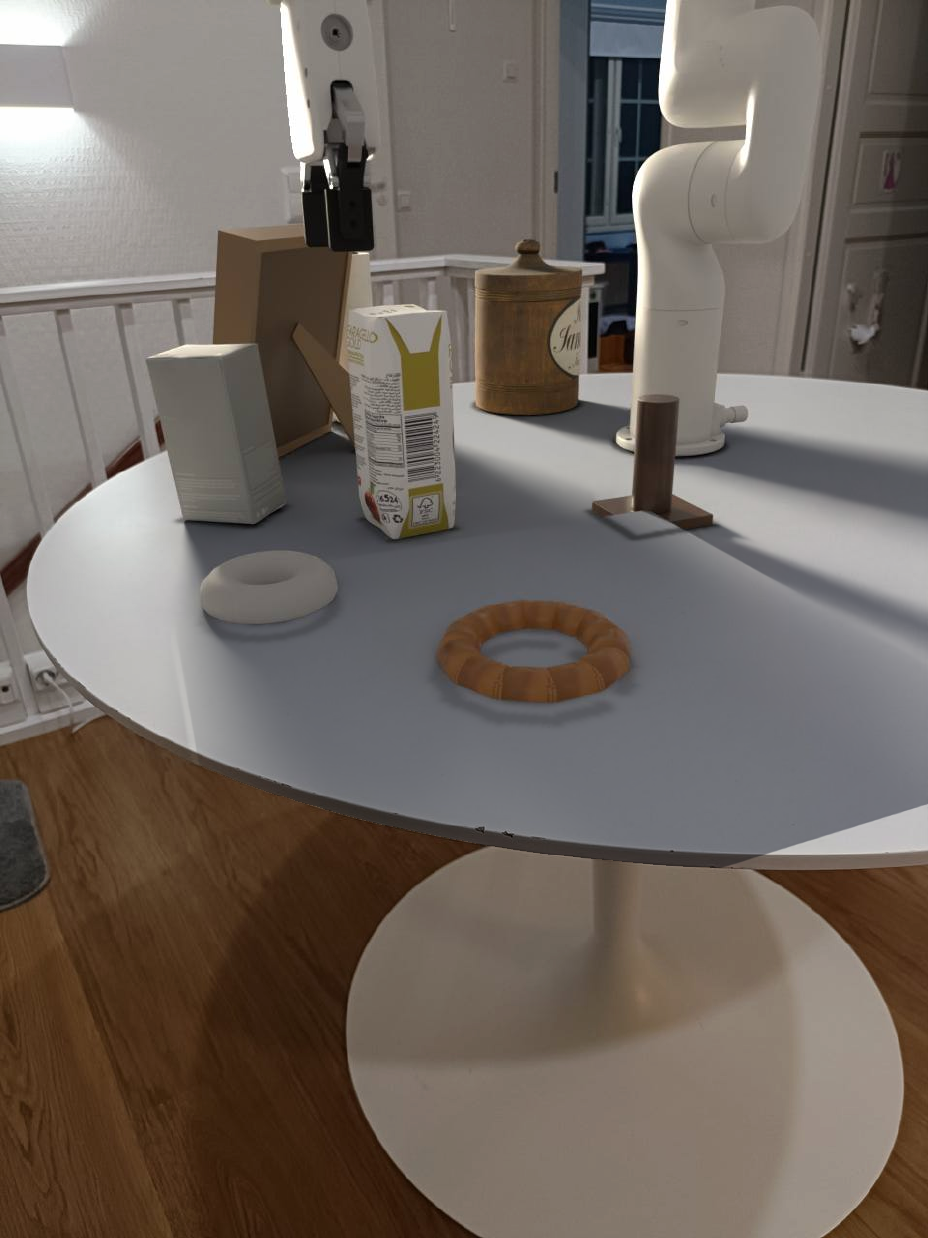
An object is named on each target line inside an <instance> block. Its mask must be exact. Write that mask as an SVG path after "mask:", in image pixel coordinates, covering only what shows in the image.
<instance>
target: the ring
mask: <svg viewBox="0 0 928 1238" xmlns="http://www.w3.org/2000/svg"><path fill="white" fill-rule="evenodd" d="M523 629H536V630H537V629H538V630H552V631H556V632H559V633H562V634H566V635H569V636H572V637H574V638H576V639H577V640H578V641H579V642H580V643H582V644H583V645H584V646H585V648H587V654H585V655H584V656H583V657H581V658H580V659H579V660H577V661H571V662H568V663H563V664H558V665H553V666H549V667H535V666H517V665H508V664H506V663H505V664H504V663H503V662H500V661H497V660H494V659H490V658H488V657H486V656H484V655H483V654H482V653H481V649H482V646H483V644H484V643H485V642H487V641H489V640H491V639H492V638H493V637H495V636H497V635H499V634H501V633H506V632H512V631H517V630H523ZM436 662H437V663H438V664H439V666H440V667H441V668H442V670H443V671H444V672H445V674H446V675H447V676H448V678H449V679H450V681H451V682H452V683H454V684H455V685H457V686H460V687H462V688H465V689H468V690H470V691H473V692H476V693H478V694H481V695H483V696H486V697H488V698H490V699H494V700H499V701H513V702H528V703H529V702H530V703H543V704H545V703H546V704H550V703H551V704H553V703H559V702H563V701H568V700H571V699H576V698H581V697H585V696H590V695H594V694H598V693H602V692H603V691H605V690H606V689H608V688H609V687H610V686H611V685H613V684H614V683H615V682H617V681H618V680H619V679H621V678H622V677H624V675H626V674H627V673H628V672H629V671H630V669H631V643H630V639H629V637H628V635H627V634H626V632H624V630H622V629H621V628H620V627H618V625H616V624H615V623H614V622H613V621H612V620H610V619H608V618H607V617H606V616H605V615H604V614H603V613H601V612H599V611H596V610H593V609H589V608H586V607H582V606H578V605H576V604H572V603H569V602H565V601H559V600H538V599H517V600H511V601H507V602H506V601H504V602H500V603H495V604H490V605H485V606H484V605H483V606H481V607H478V608H476V609H475V610H472V611H470V612H469V613H467V614H465V615H463V616H461V617H460V618H458V619H456V620H453V622H451V623H450V624H449V625H448V626H447V628H446V629H445V631H444V634H443V636H442V639H441V640H440V643H439V645H438V649H437V652H436Z"/></svg>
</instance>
